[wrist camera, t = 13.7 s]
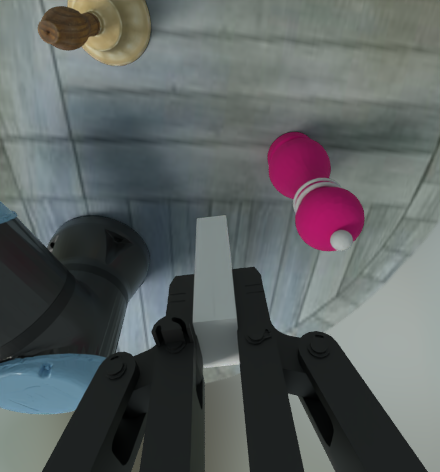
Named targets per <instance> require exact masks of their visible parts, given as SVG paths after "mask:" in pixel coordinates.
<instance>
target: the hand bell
mask: <svg viewBox="0 0 440 472" xmlns="http://www.w3.org/2000/svg"><path fill="white" fill-rule="evenodd" d="M150 32H151V22H150V15H149V10H148V7H147V5H146V2H145V0H68V6H67V7H64V6H59V7H54V8H51V9H49V10H48V11H47V12H46V13H45V14H44V16H43V18H42V20H41V22H40V23H39V25H38V33H39V35H40V37H41V38H42V39H43V41H45V42H47V43H49V44H51V45H53V46H55V47H57V48H59V49H62V50H75V49H77V48H80V47H82V48H83V49H84V50H85V51H86V52H87V53H88V54H89V55H90V56H92V57H93V58H94V59H96V60H98V61H100V62H102V63H104V64H107V65H112V66H123V65H127V64H130V63H132V62H134V61H135V60H137V59H138V58H139V57H140V56H141V55H142V54H143V52H144V51H145V49H146V47H147V45H148V42H149V38H150Z"/></svg>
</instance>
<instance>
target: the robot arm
mask: <svg viewBox="0 0 440 472" xmlns="http://www.w3.org/2000/svg"><path fill="white" fill-rule="evenodd" d="M149 263H150V256H149V251H148V249H147V246H146V244H145V243H144V241H143V240H142V238H141V237H140V236H139V235H138V234H137V233H136V232H135V231H134V230H132V229H131V228H129V227H128V226H126V225H125V224H123V223H121V222H118V221H116V220H113V219H110V218H106V217H100V216H84V217H79V218H75V219H72V220H70V221H68V222H66V223H64V224H63V225H62V226H61V227H60V228H59V229H58V230H57V231H56V233H55V234H54V236H53V237H52V239H51V240H50V242H49V244H48V247H47V248H46V247H45V246H44V245H43V244H42V243H41V242H40V240H39V239H38V238H37V237H36V236H35V235H34V234H33V233H32V232H31V231H30V230H29V229H28V228H27V227H26V226H25V225H24V224H23V223H22V222H21V221H20V220H19V219H18V218H17V214H16V213H15V212H14V211H10V210H9V209H8V208H7V207H6V206H5V205H4V204H3V203H2V202H1V201H0V408H4V409H7V410H11V411H16V412H21V413H30V414H58V413H66V412H71V411H75V412H74V414H73V415H72V417H71V419H70V421H69V423H68V425H67V426H66V428H65V430H64V432H63V434H62V436H61V438H60V439H59V441H58V443H57V445H56V447H55V449H54V451H53V452H52V454H51V456H50V458H49V460H48V462H47V463H46V466H45V467H44V469H43V471H42V472H131V470H132V467H133V465H134V462H135V459H136V456H137V453H138V450H139V448H140V445H141V442H142V439H143V436H144V434H145V436H144V443H143V451H142V458H141V464H140V472H205V421H204V420H205V396H204V395H205V388H204V387H205V382H204V378H203V366H204V368H207V367H217V366H227V365H237V364H240V371H241V382H242V392H243V403H244V413H245V424H246V434H247V445H248V455H249V466H250V472H304V468H303V464H302V459H301V454H300V450H299V445H298V440H297V436H296V431H295V427H294V422H293V417H292V412H291V407H290V403H289V399H288V393H289V394H293V395H297V396H298V397H299V399H300V401H301V403H302V405H303V407H304V409H305V411H306V413H307V415H308V417H309V419H310V421H311V423H312V425H313V427H314V429H315V431H316V433H317V435H318V437H319V439H320V441H321V444H322V445H323V447H324V450H325V451H326V454H327V456H328V458H329V460H330V461H331V464H332V466H333V468H334V470H335V472H428V471H427V470H426V469H425V467H424V466H423V464H422V463H421V462H420V460H419V459H418V457H417V456H416V454H415V453H414V452H413V450H412V449H411V447H410V446H409V444H408V443H407V442H406V440H405V439H404V437H403V436H402V435H401V433H400V432H399V430H398V429H397V427H396V426H395V424H394V423H393V422H392V420H391V419H390V417H389V416H388V415H387V413H386V412H385V410H384V409H383V407H382V406H381V404H380V403H379V402H378V400H377V399H376V397H375V396H374V394H373V393H372V392H371V390H370V389H369V387H368V386H367V384H366V383H365V382H364V380H363V379H362V377H361V376H360V375H359V373H358V372H357V370H356V369H355V367H354V366H353V365H352V363H351V362H350V360H349V359H348V358H347V356H346V355H345V353H344V352H343V350H342V349H341V347H340V346H339V345H338V343H337V342H336V341H335V340H334V339H333V338H332V337H331V336H329V335H328V334H326V333H323V332H318V331H314V332H308V333H306V334H305V335H303V336H302V337H301V338H299V337H293V336H289V335H285V334H283V333H281V332H279V331H278V330H277V329H275V328H274V326H273V325H272V323H271V321H270V317H269V312H268V307H267V303H266V298H265V293H264V288H263V284H262V279H261V274H260V273H259V272H258V271H257V270H256V268H255V267H248V268H239V269H232V261H231V252H230V244H229V236H228V227H227V219H226V215H222V216H213V217H205V218H197V225H196V250H195V274H191V275H182V276H175V278H174V279H173V281H172V282H171V284H170V287H169V296H168V304H167V310H166V316H165V317H163V318H162V319H160V320H158V322H157V323H156V324H155V325H154V327H153V329H152V335H153V337H154V340H155V342H156V345H155V346H154V347H153V348H151V349H149V350H148V351H145V352H143V353H141V354H138V355H136V356H132V355H131V354H129V353H126V352H117V353H116V349H117V345H118V341H119V337H120V333H121V329H122V325H123V320H124V316H125V312H126V308H127V304H128V302H129V300H130V299H131V298H132V296H133V295H134V294H135V292H136V291H137V289H138V288H139V287H140V286H141V285H142V283H143V282H144V280H145V278H146V276H147V272H148V268H149Z"/></svg>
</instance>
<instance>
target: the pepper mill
mask: <svg viewBox="0 0 440 472" xmlns="http://www.w3.org/2000/svg"><path fill="white" fill-rule="evenodd" d="M268 164H269V177H270V180H271V182H272V184H273V185H274V187H275V188H276V189H277V190H278V191H279V192H280V193H281V194H283V195H284V196H286V197H289V198H291V199H293V208H294V211H295V213H296V216H295V224H296V228H297V231H298V233H299V235H300V236H301V238H302V239H303V240H304V242H305V243H307V244H308V245H309V246H311V247H313V248H315V249H318V250H322V251H336V250H338V251H345V250H347V249H349V248H350V247H351V245H352V243H353V241H354V240H356V238H357V237H358V236H359V234H360V233H361V231H362V228H363V226H364V219H365V217H364V210H363V208H362V205H361V204H360V202H359V200H358V199H357V197H356V196H355V195H354V194H352V193H351V192H349V191H348V190H345V189H343V188H341V187H340V185H339V184H338V183H337V182H336V181H334V180H332V179H329V177H330V172H331V166H330V160H329V157H328V155H327V153H326V151H325V149H324V148H323V147H322V146H321V145H320V144H319V143H318V142H316V141H314V140H312V139H310V138H309V137H308V136H307V135H305V134H303V133H299V132H290V133H286V134H284V135H282V136H280V137H279V138H277V139H276V140H275V141H274V142H273V143H272V145H271V147H270V149H269V151H268Z"/></svg>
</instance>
